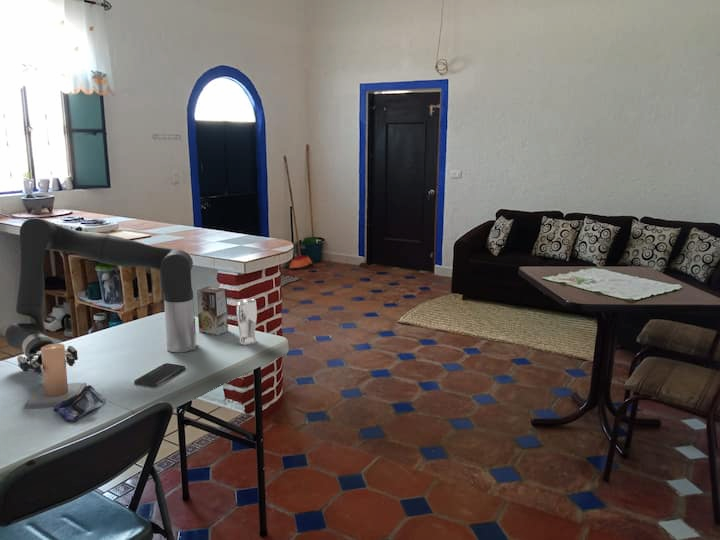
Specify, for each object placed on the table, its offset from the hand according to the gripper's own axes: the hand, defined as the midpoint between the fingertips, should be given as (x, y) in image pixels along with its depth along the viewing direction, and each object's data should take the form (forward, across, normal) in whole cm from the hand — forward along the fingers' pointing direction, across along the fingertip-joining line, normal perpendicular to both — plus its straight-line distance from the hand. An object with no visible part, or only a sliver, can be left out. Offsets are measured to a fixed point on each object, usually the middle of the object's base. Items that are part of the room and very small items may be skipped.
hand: (56, 366), depth 146 cm
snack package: (+11, +2, +10) cm, 15 cm away
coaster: (-2, 0, +10) cm, 10 cm away
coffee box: (-24, +58, +10) cm, 64 cm away
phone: (+2, +27, +10) cm, 29 cm away
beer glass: (-6, +62, +10) cm, 63 cm away
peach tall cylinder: (-2, 0, +8) cm, 9 cm away
